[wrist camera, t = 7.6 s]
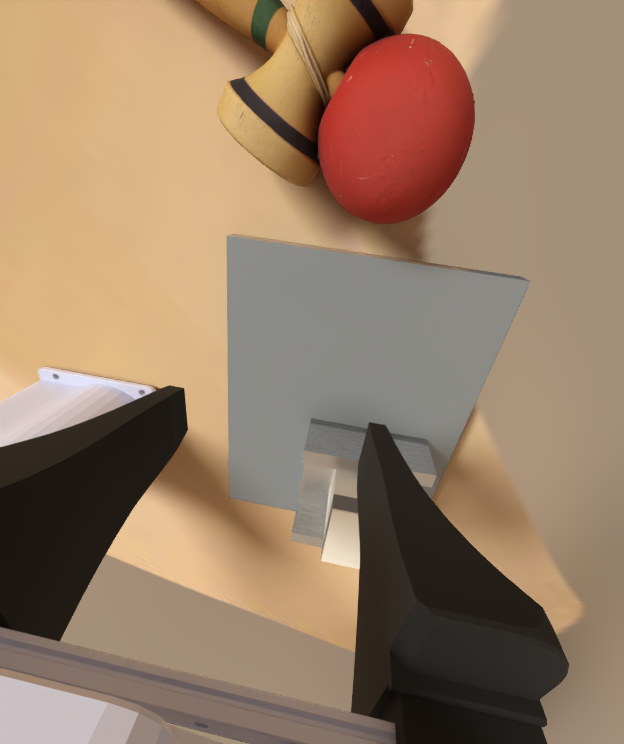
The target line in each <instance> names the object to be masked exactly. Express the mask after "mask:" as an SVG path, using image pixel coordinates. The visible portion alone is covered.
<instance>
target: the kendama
mask: <svg viewBox="0 0 624 744" xmlns="http://www.w3.org/2000/svg"><path fill="white" fill-rule="evenodd" d="M196 1H197V2H198V3H200V4H201V5H202V6H203V7H205V8H206V9H207V10H209V11H210V12H211V13H213V14H214V15H215V16H217V17H218V18H219V19H221V20H222V21H224V22H225V23H227V24H228V25H230V26H231V27H233V28H234V29H236V30H237V31H238V32H240V33H242V34H243V35H244V36H246V37H247V38H249V39H250V40H252V41H253V42H255V43H256V44H258V45H259V46H261V47H262V48H264V49H266V50H267V51H268V52H269V53H271V54H272V55H273V56H272V57H271V58H270V59H269V60H268V61H267V62H266V63H265V64H264V65H263V66H262V67H261V68H259V69H258V70H256V71H255V72H253V73H252V74H250V75H248V76H246V77H243V78H240V79H235V80H232V81H227V83H226V86H225V89H224V92H223V94H222V97H221V100H220V103H219V106H218V109H217V114H218V117H219V119H220V121H221V122H222V124H223V126H224V127H225V128H226V130H227V131H228V132H229V133H230V134H231V135H232V136H233V138H234V139H235V140H236V141H237V142H238V143H239V144H240V145H241V146H242V147H244V148H245V149H246V150H247V151H248V152H249V153H250V154H251V155H253V156H254V157H255V158H256V159H257V160H259V161H260V162H261V163H262V164H263V165H265V166H266V167H267V168H269V169H270V170H272V171H273V172H275V173H276V174H277V175H279V176H280V177H282V178H284V179H286V180H287V181H289V182H291V183H293V184H296V185H299V186H303V187H308V186H310V184H311V183H312V181H313V180H314V178H315V177H316V176H317V174H318V173H319V171H320V170H321V169H322V172H323V175H324V178H325V181H326V183H327V186H328V188H329V190H330V191H331V193H332V195H333V196H334V197H335V199H336V200H337V201H338V202H339V204H340V205H341V206H342V207H343V208H345V209H346V210H347V211H348V212H350V213H351V214H353V215H354V216H356V217H358V218H360V219H363V220H365V221H368V222H373V223H380V224H392V223H398V222H402V221H405V220H408V219H410V218H412V217H414V216H416V215H418V214H419V213H421V212H423V211H424V210H426V209H427V208H429V207H430V206H431V205H433V204H434V203H435V202H436V201H437V200H438V199H439V198H440V197H441V196H442V195H443V194H444V193H445V192H446V190H447V189H448V188H449V187H450V185H451V184H452V182H453V181H454V179H455V178H456V176H457V175H458V173H459V171H460V169H461V167H462V165H463V163H464V161H465V158H466V156H467V153H468V150H469V147H470V144H471V140H472V135H473V129H474V122H475V110H474V109H475V108H474V103H475V101H474V98H473V93H472V89H471V86H470V83H469V80H468V77H467V75H466V72H465V70H464V69H463V67H462V65H461V64H460V62H459V61H458V59H457V58H456V57H455V55H454V54H453V53H452V52H451V51H450V50H449V49H448V48H446V47H445V46H444V45H442V44H441V43H440V42H438V41H436V40H434V39H431V38H429V37H426V36H423V35H417V34H402V35H400V34H401V32H402V31H403V29H404V27H405V25H406V23H407V21H408V19H409V18H410V16H411V14H412V11H413V0H296V4H295V7H293V6H292V5H291V6H290V9H289V10H287V9H286V8H285V6H284V5H283V4H282V2H281V1H280V0H196Z"/></svg>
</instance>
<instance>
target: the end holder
mask: <svg viewBox="0 0 624 744" xmlns="http://www.w3.org/2000/svg"><path fill="white" fill-rule="evenodd" d="M366 432H367V428H362V427H357V426H352V425H346V424H341V423H335V422H330V421H325V420H319V419H314V418H311V421H310V426H309V430H308V434H307V438H306V443H305V447H304V452H303V459H302V463H304V467H303V474H302V481H301V487H300V494H299V501H298V506H297V510H296V515H295V520H294V525H293V529H292V535H291V541H294V542H298V543H303V544H308V545H313V546H317V547H322V545H323V539H324V530H325V521H326V512H327V503H328V496H329V491H330V486H331V481H332V477H333V472H334V469H338V470H343V471H349V472H354V473H358V462H359V458H360V454H361V451H362V447H363V443H364V439H365V435H366ZM390 434H391V436H392V438H393V440H394V442H395V444H396V445H397V447H398V449H399V451H400V453H401V454H402V456H403V458H404V460H405V461H406V463H407V464H408V466H409V468H410V469H411V471H412V473H413V474H414V476H415V477H416V479H417V480H418V482H419V483H420V484H421V486H426V487H431V488H432V486H433V484H434V481H435V479H436V477H437V474H436V471H435V467H434V464H433V460H432V457H431V453H430V450H429V446H428V443H427V439H422V438H417V437H411V436H406V435H400V434H395V433H390Z"/></svg>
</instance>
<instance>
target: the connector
mask: <svg viewBox="0 0 624 744" xmlns="http://www.w3.org/2000/svg"><path fill="white" fill-rule="evenodd" d="M357 475H358V473H354V472H349V471H343V470H338V469H334V472H333V477H332V481H331V486H330V491H329V496H328V503H327V512H326V521H325V530H324V539H323V545H322V554H321V561H323V562H328V563H332V564H337V565H342V566H346V567H351V568H356V569H360V540H359V522H358V503H357Z"/></svg>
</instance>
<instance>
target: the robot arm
mask: <svg viewBox="0 0 624 744" xmlns="http://www.w3.org/2000/svg"><path fill="white" fill-rule="evenodd" d="M38 374H39V377H40V379H41V380H40V381H38V382H36V383H34V384H32V385H30V386H28V387H27V388H25V389H23V390H21V391H19V392H17V393H16V394H14V395H12V396H10V397H8V398H6V399H4V400H3V401H1V402H0V744H222V743H219V742H217V741H214V740H211V739H209V738H206V737H203V736H200V735H198V734H195V733H192V732H189V731H187V730H184V729H181V728H178V727H175V726H172V725H169V724H167V723H171V724H175V725H179V726H182V727H187V728H190V729H194V730H198V731H202V732H206V733H210V734H214V735H218V736H222V737H226V738H230V739H233V740H238V741H241V742H245V743H249V744H547V742H546V739H545V736H544V733H543V730H542V727H545V726H546V725H547V719H546V716H545V713H544V710H543V708H542V705H541V702H540V699H541V698H542V697H543V696H544V695H546V694H547V693H548V692H550V691H551V690H552V689H553V688H555V687H556V686H557V685H559V684H560V683H561V682H562V681H563V679H564V678H565V677H566V675H567V673H568V668H569V663H568V661H567V659H566V656H565V654H564V652H563V650H562V647H561V645H560V643H559V640H558V638H557V636H556V633H555V631H554V629H553V627H552V625H551V623H550V621H549V619H548V617H547V615H546V613H545V611H544V610H543V608H542V607H541V606H540V605H539V604H538V603H536V602H535V601H534V600H533V599H532V598H530V597H529V596H528V595H527V594H526V593H524V592H523V591H522V590H521V589H520V588H519V587H517V586H516V585H515V584H514V583H513V582H511V581H510V580H509V579H508V578H507V577H505V576H504V575H503V574H502V573H501V572H500V571H499V570H498V569H497V568H495V567H494V566H493V565H492V564H491V563H490V562H489V561H488V560H487V559H486V558H485V557H484V556H483V555H482V554H480V553H479V552H478V551H477V550H476V549H475V548H474V547H473V546H472V545H471V544H470V543H469V542H468V541H467V540H466V538H465V537H464V536H463V535H462V534H461V533H460V532H459V531H458V530H457V529H456V528H455V527H454V526H453V525H452V524H451V522H450V521H449V520H448V519H447V518H446V517H445V516H444V514H443V513H442V512H441V511H440V510H439V508H438V507H437V506H436V505H435V503H434V502H433V501H432V500H431V498H430V497H429V496H428V494H427V493H426V492H425V490H424V489H423V487H422V486H421V484H420V483H419V482H418V480H417V479H416V477H415V476H414V474H413V473H412V471H411V469H410V468H409V466H408V464H407V463H406V461H405V460H404V458H403V456H402V454H401V453H400V451H399V449H398V447H397V445H396V444H395V442H394V440H393V438H392V436H391V434H390V432H389V430H388V428H387V427H386V425H382V424H376V423H371V422H369V424H368V428H367V432H366V435H365V439H364V443H363V447H362V451H361V454H360V458H359V462H358V475H357V503H358V522H359V540H360V572H359V595H358V616H357V633H356V650H355V667H354V680H353V694H352V708H351V712H347V711H343V710H339V709H335V708H331V707H327V706H323V705H319V704H314V703H310V702H306V701H302V700H298V699H294V698H290V697H286V696H282V695H277V694H273V693H269V692H265V691H261V690H257V689H252V688H249V687H244V686H240V685H236V684H232V683H228V682H224V681H220V680H216V679H212V678H208V677H203V676H199V675H195V674H191V673H187V672H183V671H179V670H175V669H171V668H166V667H162V666H158V665H154V664H150V663H146V662H141V661H138V660H134V659H129V658H125V657H121V656H117V655H113V654H109V653H105V652H100V651H97V650H92V649H88V648H84V647H80V646H76V645H72V644H68V643H64V642H60V640H61V638H62V636H63V634H64V632H65V630H66V628H67V626H68V624H69V622H70V620H71V618H72V616H73V614H74V612H75V610H76V608H77V605H78V604H79V602H80V600H81V598H82V596H83V594H84V592H85V591H86V589H87V587H88V585H89V583H90V581H91V579H92V578H93V576H94V574H95V572H96V570H97V568H98V566H99V565H100V563H101V561H102V559H103V558H104V556H105V554H106V553H107V551H108V549H109V547H110V546H111V544H112V542H113V540H114V539H115V537H116V535H117V534H118V532H119V530H120V529H121V527H122V526H123V524H124V522H125V521H126V519H127V517H128V516H129V514H130V513H131V511H132V510H133V508H134V507H135V505H136V504H137V502H138V501H139V500H140V498H141V497H142V496H143V494H144V493H145V492H146V490H147V489H148V488H149V486H150V485H151V484H152V482H153V481H154V480H155V479H156V477H157V476H158V475H159V473H160V472H161V471H162V469H163V468H164V467H165V465H166V464H167V463H168V461H169V460H170V459H171V457H172V456H173V455H174V453H175V452H176V450H177V448H178V447H179V445H180V443H181V441H182V440H183V438H184V436H185V434H186V432H187V430H188V426H187V415H186V404H185V393H184V388H180V387H175V386H167V387H164V388H161V389H159V390H157V391H156V389H155V388H154V387H152V386H148V385H142V384H137V383H131V382H126V381H120V380H115V379H110V378H104V377H99V376H93V375H88V374H82V373H77V372H72V371H66V370H61V369H55V368H50V367H42V368H40V369H39V370H38ZM142 390H143V391H144V392H143V391H142ZM166 722H167V723H166Z"/></svg>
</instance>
